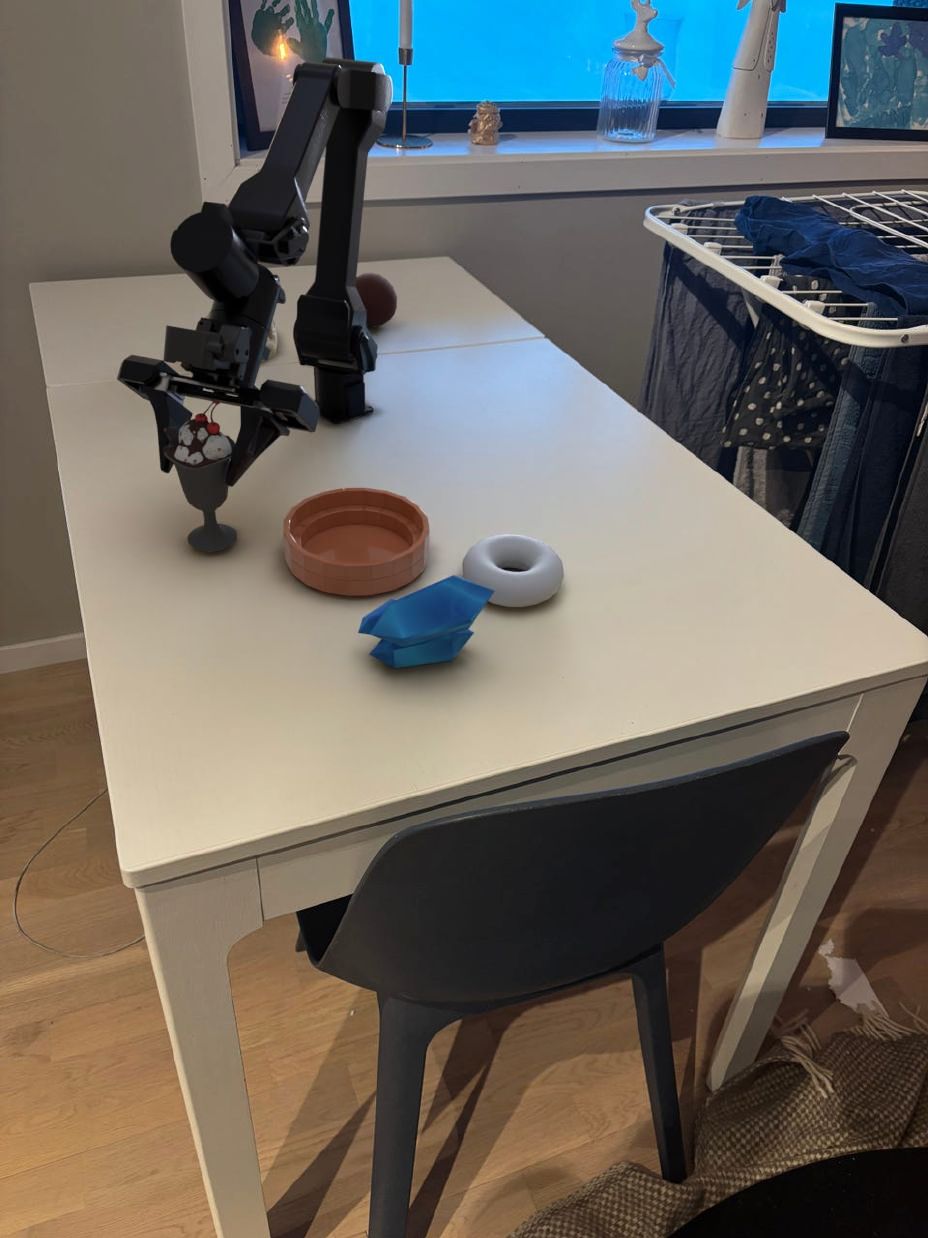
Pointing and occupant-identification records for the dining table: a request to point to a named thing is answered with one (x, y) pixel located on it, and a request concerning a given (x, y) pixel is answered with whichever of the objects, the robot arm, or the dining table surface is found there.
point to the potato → (376, 298)
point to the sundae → (203, 476)
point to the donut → (519, 553)
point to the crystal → (426, 623)
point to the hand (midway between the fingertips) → (196, 478)
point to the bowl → (356, 541)
